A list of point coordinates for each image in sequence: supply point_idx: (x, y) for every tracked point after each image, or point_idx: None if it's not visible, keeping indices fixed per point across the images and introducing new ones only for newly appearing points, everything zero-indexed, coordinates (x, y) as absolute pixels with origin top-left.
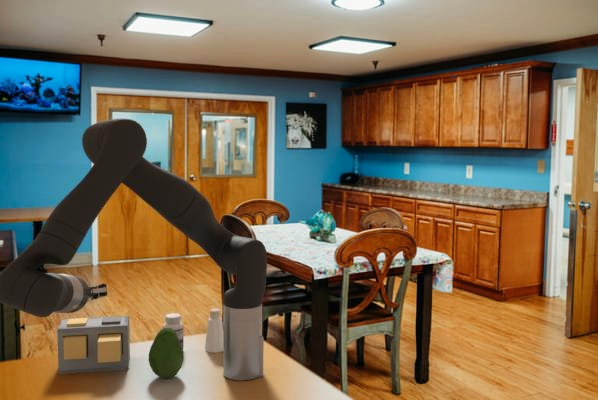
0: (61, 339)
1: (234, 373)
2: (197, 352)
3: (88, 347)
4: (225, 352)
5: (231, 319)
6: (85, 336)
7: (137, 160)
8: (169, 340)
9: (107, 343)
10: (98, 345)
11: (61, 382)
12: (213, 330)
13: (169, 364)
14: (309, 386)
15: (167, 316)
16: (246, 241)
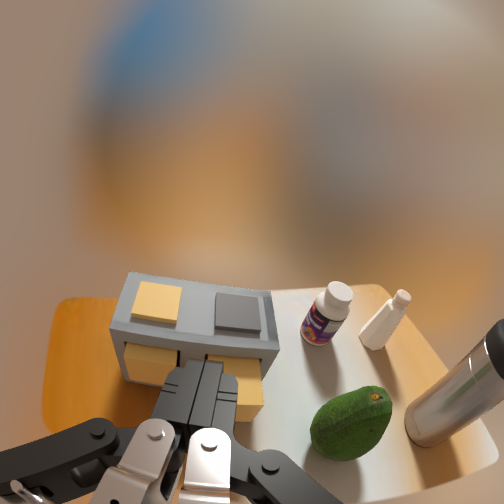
0: (121, 345)
1: (428, 443)
2: (351, 345)
3: (180, 366)
4: (437, 421)
5: (491, 396)
6: (174, 356)
7: None
8: (381, 430)
9: None
10: None
11: (130, 420)
12: (390, 326)
13: (357, 457)
14: (483, 447)
15: (333, 293)
16: None
